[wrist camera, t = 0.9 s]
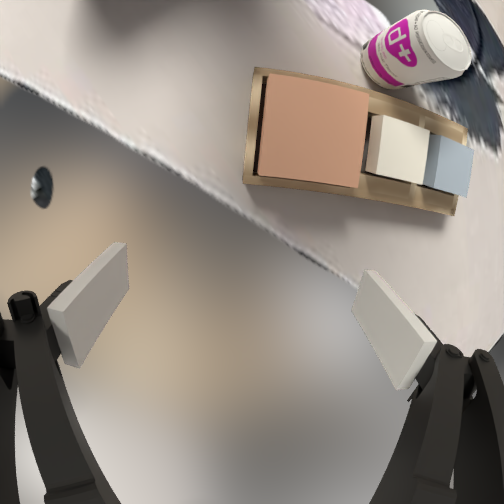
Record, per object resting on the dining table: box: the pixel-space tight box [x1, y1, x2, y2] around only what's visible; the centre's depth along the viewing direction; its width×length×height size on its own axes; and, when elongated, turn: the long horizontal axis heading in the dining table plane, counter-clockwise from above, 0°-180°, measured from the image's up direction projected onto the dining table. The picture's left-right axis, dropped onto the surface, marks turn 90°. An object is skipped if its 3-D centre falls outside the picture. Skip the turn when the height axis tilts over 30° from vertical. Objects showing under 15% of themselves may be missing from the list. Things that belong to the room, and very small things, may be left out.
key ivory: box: [365, 115, 430, 185], centre depth 29 cm, size 7×7×4 cm
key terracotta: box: [257, 73, 369, 188], centre depth 28 cm, size 11×11×4 cm
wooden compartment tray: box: [243, 67, 468, 216], centre depth 32 cm, size 14×32×4 cm, turn 85°
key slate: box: [423, 134, 474, 198], centre depth 30 cm, size 7×7×4 cm
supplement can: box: [361, 10, 471, 89], centre depth 22 cm, size 8×8×15 cm
